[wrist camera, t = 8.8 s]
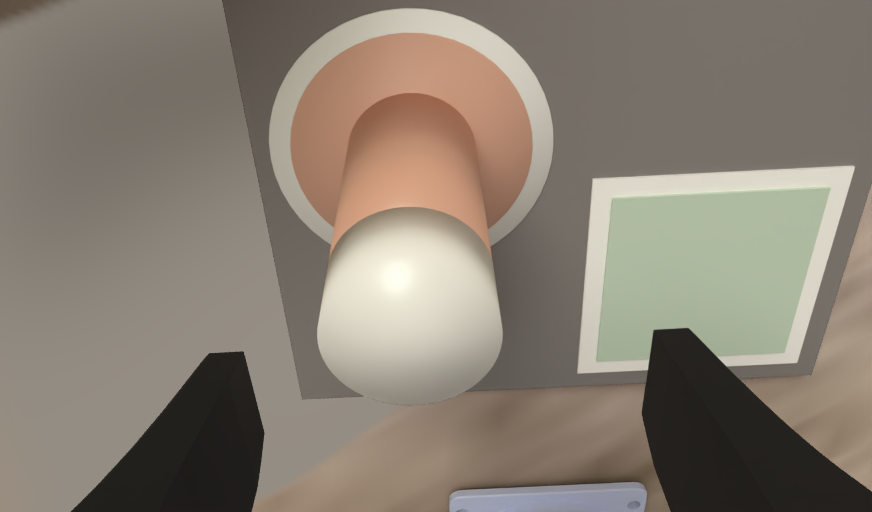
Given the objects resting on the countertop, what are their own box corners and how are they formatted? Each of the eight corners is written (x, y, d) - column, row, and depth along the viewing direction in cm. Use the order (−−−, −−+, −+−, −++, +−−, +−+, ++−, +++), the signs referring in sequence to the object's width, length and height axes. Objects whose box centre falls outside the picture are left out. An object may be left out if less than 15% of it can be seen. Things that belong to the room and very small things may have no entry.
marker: (479, 202, 22) (507, 397, 16) (358, 214, 22) (334, 412, 16) (470, 86, 20) (497, 253, 14) (337, 100, 20) (299, 273, 14)
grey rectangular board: (801, 359, 27) (813, 379, 27) (304, 383, 28) (301, 403, 27) (924, -48, 20) (946, -39, 19) (228, -12, 20) (220, -1, 19)
